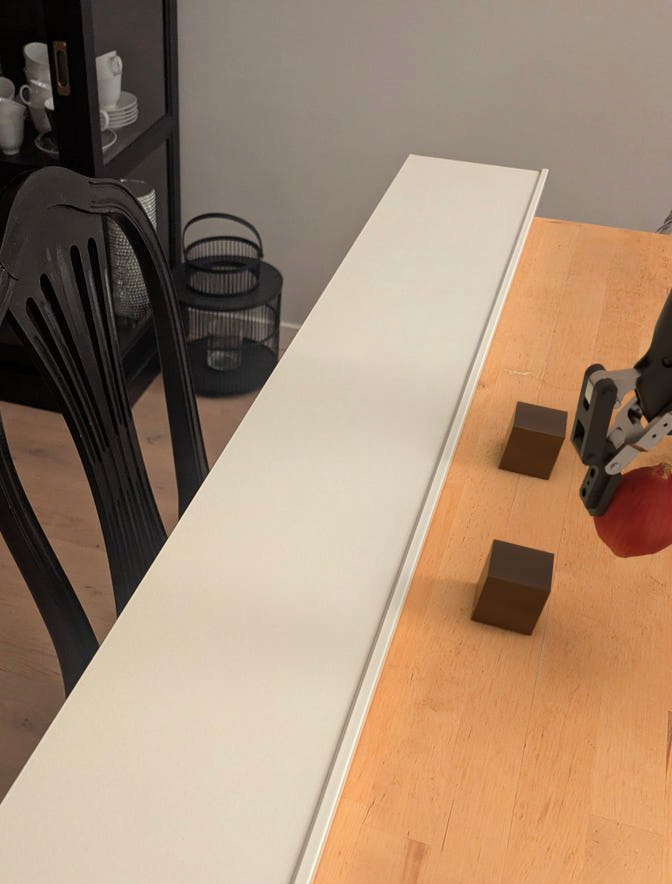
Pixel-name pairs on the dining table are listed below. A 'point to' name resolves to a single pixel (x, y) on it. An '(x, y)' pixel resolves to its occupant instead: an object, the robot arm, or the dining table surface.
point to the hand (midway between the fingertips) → (637, 509)
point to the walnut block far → (533, 440)
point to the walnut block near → (513, 587)
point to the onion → (639, 513)
